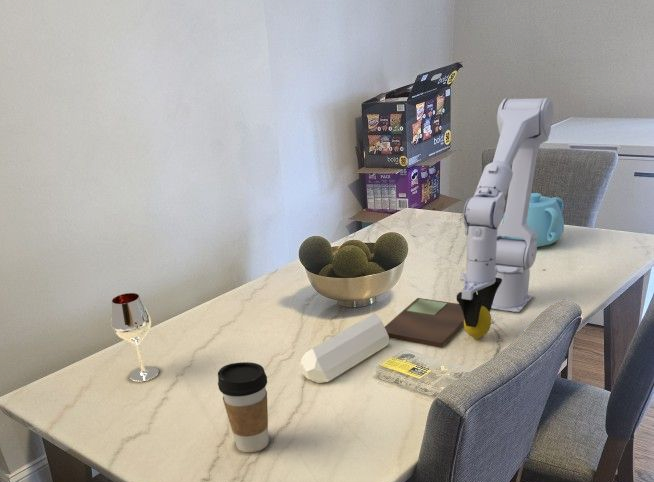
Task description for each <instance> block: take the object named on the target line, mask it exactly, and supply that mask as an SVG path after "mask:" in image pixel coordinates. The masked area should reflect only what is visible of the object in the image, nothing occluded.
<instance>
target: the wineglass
mask: <svg viewBox="0 0 654 482" xmlns="http://www.w3.org/2000/svg"><path fill="white" fill-rule="evenodd" d="M110 310H111V315H110V317H111V319H110V320H111V328H112V331H113V332H114V334H115V335H116V336H118V338H120V339H121V340H124V341H125V342H128V343H130V344H132V345H133V346H134V347H135V350H136V354H137V358H138V363H139V366H140V367H139V368H136V369H135V370H133V371H131V372H130V374H129V379H130V380H131V381H133V382H137V383H138V382H141V383H142V382H147V381H151V380H153V379H155V378H156V377H157V376H158V375H159V372H160V371H159V369H158V368H157V367H154V366H145V363H144V360H143V355H142V351H141V347H140V346H141V342H142V341H143V339H145V337H146V336H147V335H148V334H149V332H150V330H151V327H152V318H151V315H150V313H149V311H148V309H147V307H146V305H145V303H144V302H143V299H142V298H141V295H140V294H139V293H136V292H127V293H122V294H119V295H116V296H115V297H113V298H112V299H111V309H110Z"/></svg>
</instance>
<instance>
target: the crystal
mask: <svg viewBox="0 0 654 482" xmlns="http://www.w3.org/2000/svg"><path fill="white" fill-rule="evenodd" d="M389 345H390V338H389V336H388V334H387V331H386V329H385V325H384V323H383V321H382V319H381V317H380V316H379V315H377V314H376V313H372V314H371V315H369V316H367V317H365V318H363V319H361V320H360V321H358V322H356V323H355V324H353V325H351V326H349V327H348V328H345V329H344V330H342V331H340V332H339V333H337V334H335V335H333V336H331V337H330V338H328V339H327V340H324V341H323V342H321V343H319V344H317V345H316V346H314V347H312V348H311V349H310V350H308V351H307V352H305V353H304V354H303V357H302V359H301V361H300V362H299V365H300V369H301V372H302V373H303V375H304V376H305V378H306V379H308V380H309V381H312V382H315V383H317V384H322V383H328V382H331V381H332V380H333V379H335V378H337V377H339V376H340V375H342V374H343V373H345V372H346V371H348V370H350V369H352V368H353V367H355V366H356V365H358V364H359V363H361V362H362V361H364V360H366V359H367V358H369V357H370V356H371V357H372V355H374V354H375V353H377V352H380V350H382V349H384V348H385V347H387V346H389Z"/></svg>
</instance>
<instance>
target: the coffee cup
mask: <svg viewBox="0 0 654 482" xmlns="http://www.w3.org/2000/svg"><path fill="white" fill-rule="evenodd" d="M267 385H268V376H267V374H266V372H265V369H264V367H263V366H262V365H261V364H259V363H256V362H248V361H243V362H233V363H229V364H226V365H224V366H221V368H219V370H218V372H217V386H218V390H219V391H220V393H222V402H223V405H224V408H225V411H226V414H227V418H228V422H229V424H230V428H231V431H232V435H233V438H234V442H235V446H236V448H237V449H238V450H239V451H240V452H244V453H257V452H260V451H262V450H263V449H266V447H267V446H268V444H269V442H270V441H269V439H270V437H269V414H268V391H267V388H266V386H267Z"/></svg>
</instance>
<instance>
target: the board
mask: <svg viewBox="0 0 654 482" xmlns="http://www.w3.org/2000/svg"><path fill="white" fill-rule="evenodd" d="M384 327H385V329H386V331H387V334H388V336H389V339H393V340H399V341H404V342H410V343H415V344H420V345H426V346H432V347H437V348H444V347H445V346H446V344H447V343H448V342H449V341H450V340H451V339H452V338H453V337H454V336H455V335H456V334H457V333H458V332H459V331H461V329H462V327H464V315H463V311H462V308H461V306H460V304H459V303H456V302H450V301H443V300H435V299H430V298H429V299H428V298H422V297H417V298H416V299H415V300H413V301H412V302H411V303H410V304H409V305H408V306H406V307H405V308H404V309H403V310H402V311H401V312H399V314H397V315H396V316H394V318H393V319H392V320H391V321H389V322H388V323H387V324H386V325H384Z"/></svg>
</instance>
